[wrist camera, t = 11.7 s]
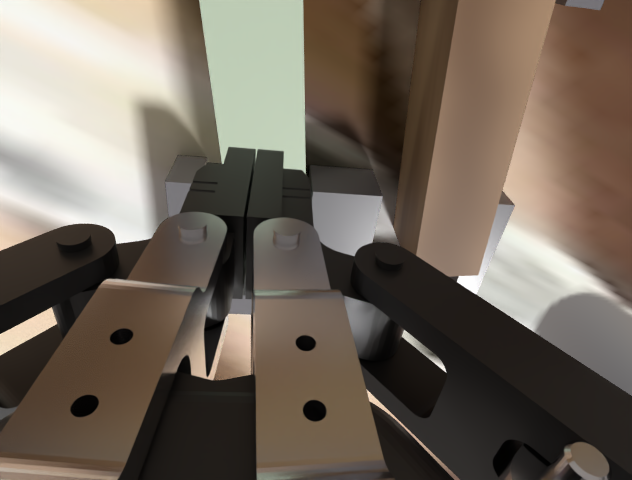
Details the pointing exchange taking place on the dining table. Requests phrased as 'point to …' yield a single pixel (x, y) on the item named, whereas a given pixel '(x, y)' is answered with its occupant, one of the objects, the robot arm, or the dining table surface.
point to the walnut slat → (464, 123)
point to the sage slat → (257, 75)
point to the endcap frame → (345, 204)
